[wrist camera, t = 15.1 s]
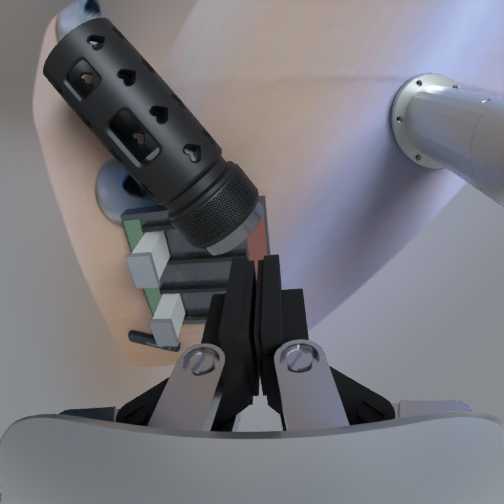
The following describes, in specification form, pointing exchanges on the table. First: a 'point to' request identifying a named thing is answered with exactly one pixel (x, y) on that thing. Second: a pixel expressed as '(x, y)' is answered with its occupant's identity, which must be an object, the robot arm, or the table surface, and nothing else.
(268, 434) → the robot arm
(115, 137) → the muzzle brake
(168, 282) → the breaker panel
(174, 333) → the block
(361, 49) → the table surface
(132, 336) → the usb stick
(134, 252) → the block
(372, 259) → the table surface
